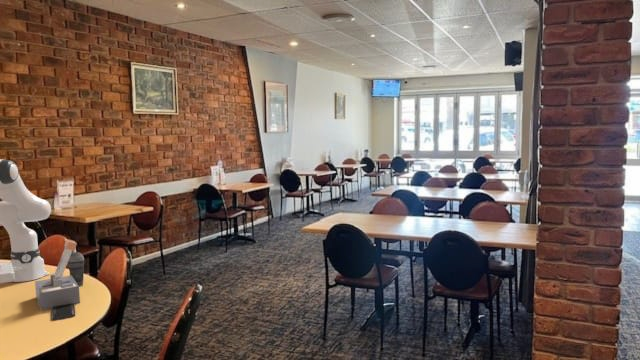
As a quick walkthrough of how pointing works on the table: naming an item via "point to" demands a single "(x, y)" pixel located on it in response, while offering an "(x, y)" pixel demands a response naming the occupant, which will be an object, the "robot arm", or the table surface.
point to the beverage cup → (76, 267)
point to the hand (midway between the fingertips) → (26, 269)
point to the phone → (63, 311)
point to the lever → (64, 258)
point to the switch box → (57, 292)
